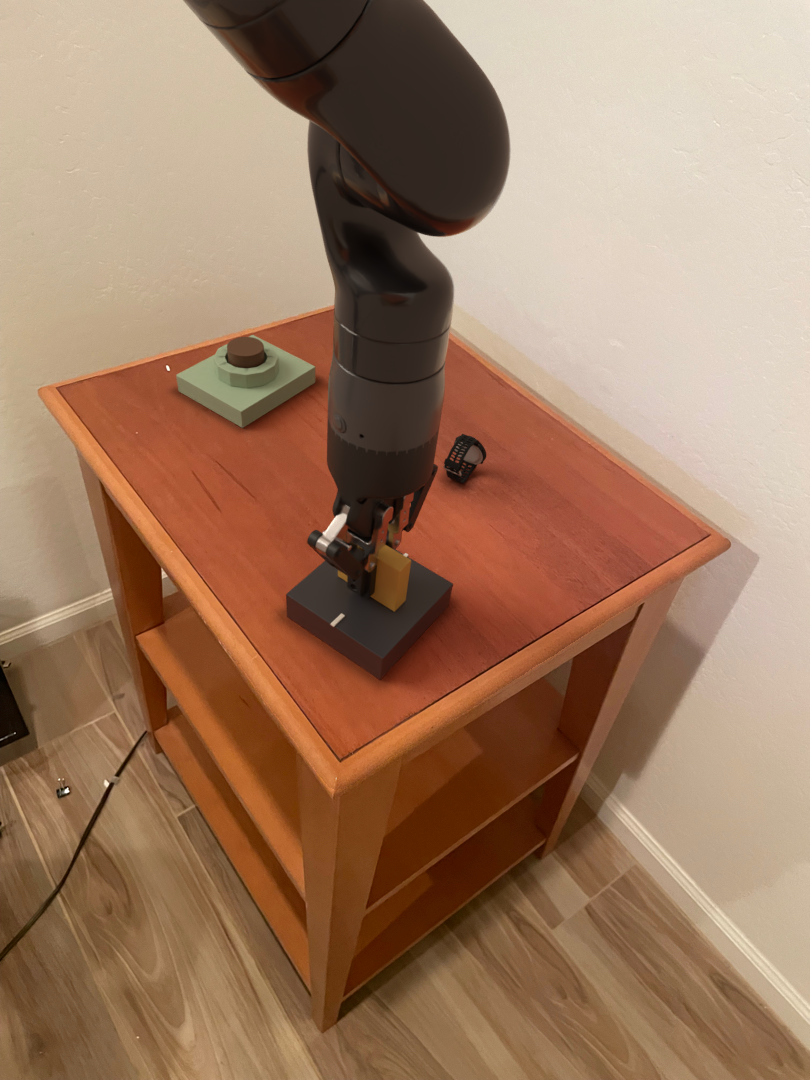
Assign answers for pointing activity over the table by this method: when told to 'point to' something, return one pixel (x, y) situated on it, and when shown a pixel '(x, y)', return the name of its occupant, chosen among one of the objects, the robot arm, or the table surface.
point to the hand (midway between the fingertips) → (369, 582)
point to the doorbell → (246, 383)
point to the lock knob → (389, 578)
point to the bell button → (245, 352)
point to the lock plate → (367, 615)
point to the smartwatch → (464, 458)
